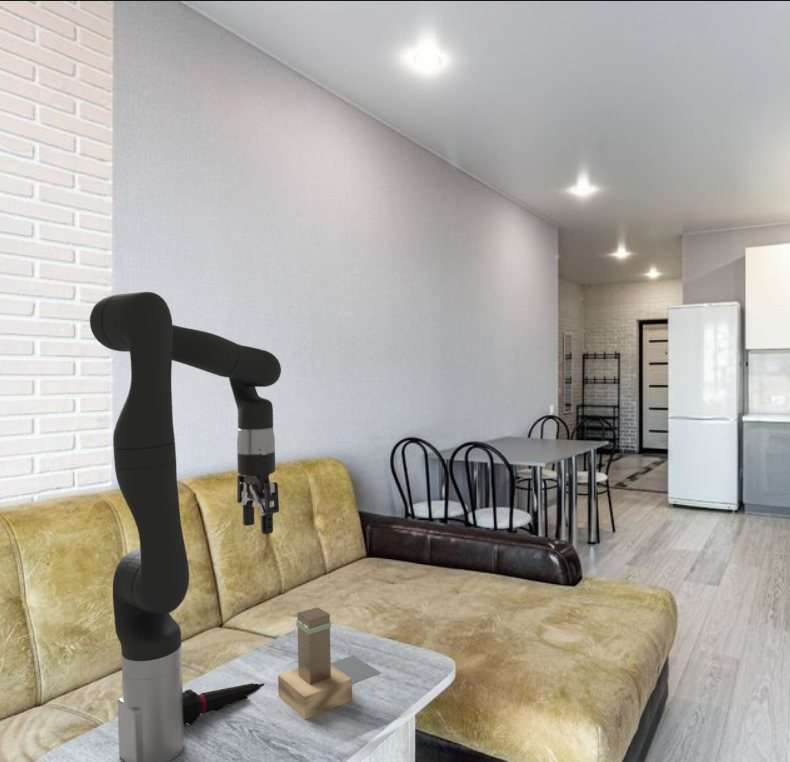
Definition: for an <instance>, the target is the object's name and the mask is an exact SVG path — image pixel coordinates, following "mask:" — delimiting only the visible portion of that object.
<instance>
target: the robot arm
mask: <svg viewBox="0 0 790 762" xmlns="http://www.w3.org/2000/svg"><path fill="white" fill-rule="evenodd" d="M167 303H168V302H166V300H165V299H164V298H163V297H162V296H160V294H157V293H156V292H152V291H139V292H130V293H118V294H113V295H109V296H106V297H104V298H101V299H100V300H98V301H97V302H96V304H95V305H94V306H93V308H92V309H91V311H90V315H89V327H90V330H91V332H92V335H93V336H94V338H95V340H96V341H97V342H98V343H99V344H101V345H102V346H104V347H105V348H107V349H109V350H112V351H115V352H116V351H117V352H129V359H130V372H131V375H130V386H129V390H128V394H127V395H126V399H125V402H124V404H123V405H122V406H123V407H122V409H121V410H120V413H119V415H118V418H117V421H116V424H115V427H114V431H113V435H112V436H113V437H112V438H113V439H112V445H113V461H114V470H115V475H116V480H117V484H118V487H119V489H120V493H121V494H122V496H123V498H124V501H125V503H126V505H127V506H128V509H129V511H130V513H131V515H132V518H133V519H134V523H135V525H136V528H137V533H138V538H139V547H140V548H136V549H134V550H131V551H129V552H128V553H126V555H124V556H123V557H122V558H121V559H120V561H119V562H118V564H117V566H116V568H115V571H114V575H113V580H112V604H113V615H114V628H115V633H116V636H117V639H118V641H119V643H120V646H121V678H122V680H121V681H122V682H121V683H122V686H121V687H122V697H119V698H118V700H117V720H118V721H117V723H118V755H119V756H118V757H119V758H121V760H123V761H124V762H171V761H172V760H174V759H175V758H177V757H178V756H179V755H180V754H181V752H182V751H183V749H184V746H185V740H184V739H185V730H184V728H185V727H184V724H183V689H184V688H183V657H182V655H183V654H182V652H183V651H182V647H183V646H182V630H181V627H180V625H179V624H178V623H177V621H176V620H175V619H174V618H173V617H172V615H171V614H170V613H172V612H174V611H175V610H176V609H178V607H179V606H180V605H181V604H182V603H183V601H184V600H185V598H186V595H187V594H188V593H187V592H188V590H189V585H190V568H189V566H190V565H189V561H188V560H189V559H188V557H187V556H188V555H187V549H186V545H185V540H184V539H185V538H184V534H183V527H182V520H181V512H180V510H181V509H180V502H179V501H180V498H179V497H180V496H179V488H178V478H177V477H178V475H177V452H176V451H177V450H176V441H175V440H176V438H175V437H176V436H175V429H174V417H173V396H172V395H173V394H172V393H173V392H172V367H173V366H172V365H173V361H174V362H177V363H181V364H183V365H186V366H190V367H193V368H195V369H198V370H201V371H204V372H207V373H210V374H212V375H215V376H218V377H222V378H228V381H229V384H230V387H231V391H232V394H233V398H234V402H235V404H236V408H237V438H236V449H237V450H236V451H237V454H236V455H237V458H236V459H237V473H238V475H237V479H236V480H237V483H236V484H237V486H236V489H237V492H236V493H237V499H236V500H237V503H238V504H240V506H241V508H242V525H244V526H252V525H254V524H255V506H257V507H258V508H259V511H260V514H261V515H260V523H261V524H260V526H261V527H260V529H261V534H263V535H268V534H272V533H273V532H274V518H273V517H274V515H275V514H276V513H279V512H280V505H279V486H278V482H276V481H274V482H273V481H272V482H271V481H270V475H272V474H274V473H275V472H276V441H275V440H276V439H275V432H274V408H273V407H274V406H273V403H272V401H270V399H267V398H265V397H264V398H263V397H260V395H259V394H258V392H257V391H258V390H257V389H256V388H257V387H258V388H263V387H264V388H265V387H271V386H273V385H274V384H276V383H277V382H278V380H279V379H280V377H281V375H282V374H281V373H282V366H281V364H280V363H281V362H280V361H279V359H278V358H277V357H276V355H275V354H273V353H271V352H269V351H267V350H264V349H260V348H257V347H252V346H248V345H242V344H238V343H236V342H234V341H232V340H230V339H227V338H225V337H223V336H220V335H217V334H214V333H211V332H208V331H203V330H199V329H193V328H189V327H185V326H184V327H183V326H179V325H176V324H173V319H172V314H171V311H170V310H171V309H170V308H169V306H168V304H167Z"/></svg>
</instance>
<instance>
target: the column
mask: <svg viewBox="0 0 790 762" xmlns="http://www.w3.org/2000/svg"><path fill="white" fill-rule="evenodd" d="M296 615H297V616H296V617H297V620H296V623H295V624H296V627H297V659H298V660H297V663H298V664H297V665H298V666H297V667H298V672H299V677H301V678H302V679H303V680H304V681H306V682H307V683H308V684H309V685H312V684H315V683H318V682H320V681H323V680H326V679H329V678H331V663H332V661H331V660H332V659H331V628H332V622H331V619H330V618H331V616H330V615H331V614H330V613H328V612H327V611H325V610H323V609H321V608H320V607H318V606H316V607H313V608H310V609H309V608H308V609H306V610H303V611H299V612H297V614H296Z"/></svg>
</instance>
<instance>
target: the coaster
mask: <svg viewBox="0 0 790 762" xmlns="http://www.w3.org/2000/svg"><path fill="white" fill-rule="evenodd" d="M331 665H333V666H334V667H335V668H337V669H338V670H340V671H341V672H343V673H344V674H346V675H347V676H348V677H350V678H351V679H352V685H354V684H357V683H359V682H362V681H364V680H367V679H369V678H371V677H374V676H377V675H380V674H382V672H381V671H380V670H378V669H376V668H374V667H373V666H372V665H370V664H368V663H366V662H365V661H364V660H362V659H360V658H359V657H357V656H355V655H354V654H353V655H350V656H347V657H344V658H341V659H338V660H336V661H331Z"/></svg>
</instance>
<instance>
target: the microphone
mask: <svg viewBox="0 0 790 762" xmlns="http://www.w3.org/2000/svg"><path fill="white" fill-rule="evenodd" d="M263 686H265V683H253V682H252V683H251V682H250V683H247V684H242V685H236V686H230V687H225V688H222V689H221V688H220V689H216V690H211V691H206V692H201V693H200V694H198V693H197V692H195V691H193V690H192V689H187V690H185V691H184V692H183V725H185V724H186V723H188V724H190V725H192V724H194V723H196V722H197V720H198V718H199V717H201V715H205V714H207V713H209V712H212V711H213V712H217V711H221V710H223V709H224V707H226V706H229V705H233V704H235V703H238V702H241V701H242V700H243V701H244V700H246V699H248V698H249V697H248V695H251V694H252V693H255V692H256V691H257V690H260V688H261V687H263ZM188 724H186V725H188Z"/></svg>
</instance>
